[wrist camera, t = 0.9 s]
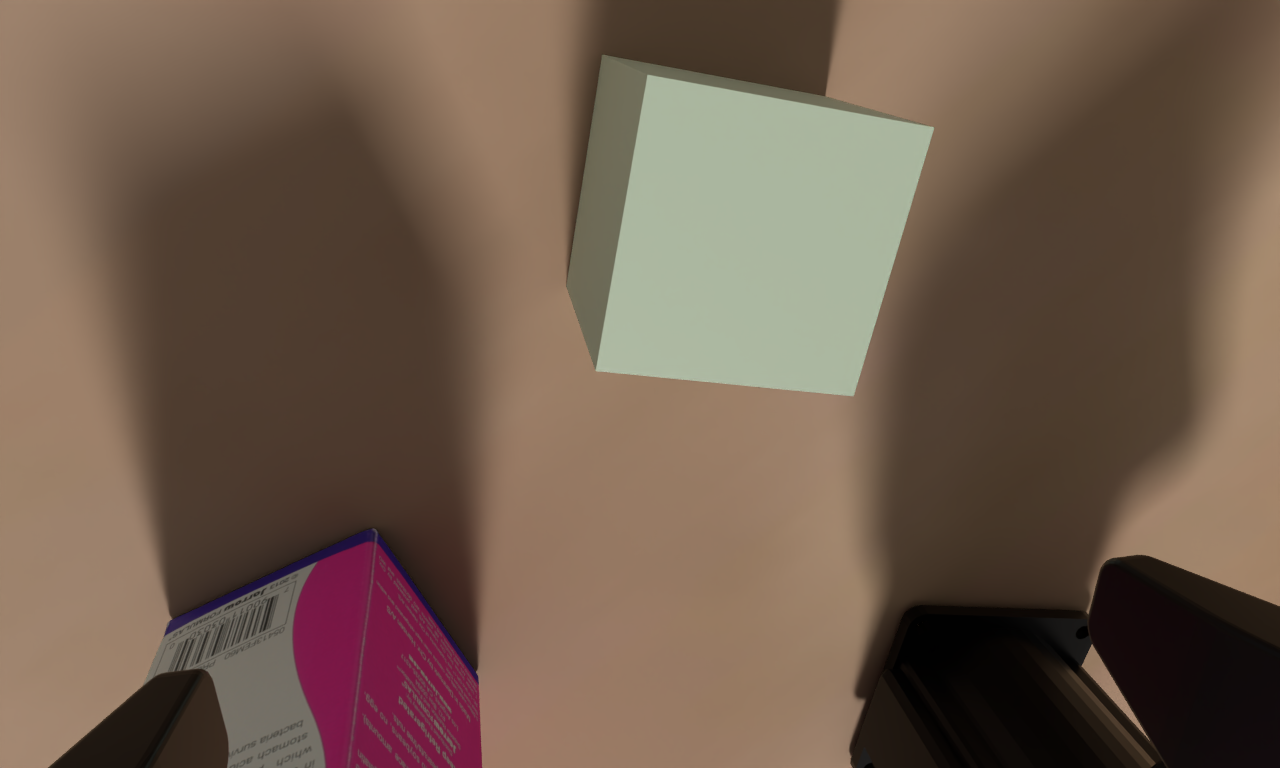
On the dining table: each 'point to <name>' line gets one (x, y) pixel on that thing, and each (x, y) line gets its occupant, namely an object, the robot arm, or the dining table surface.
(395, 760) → the supplement box
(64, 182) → the dining table surface
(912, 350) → the dining table surface
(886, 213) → the sage cube
